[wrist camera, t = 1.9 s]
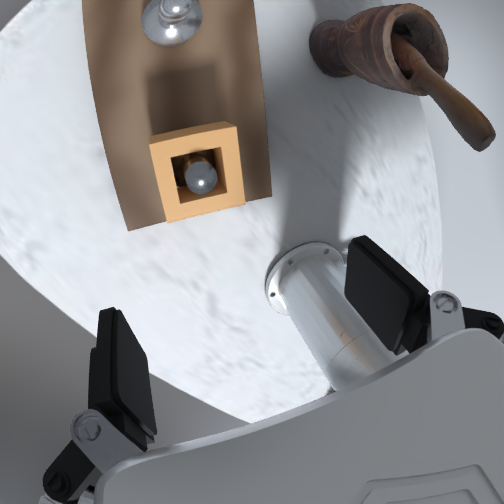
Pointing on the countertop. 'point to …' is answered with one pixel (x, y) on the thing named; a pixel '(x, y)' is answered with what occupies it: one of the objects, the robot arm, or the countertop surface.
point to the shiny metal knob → (195, 171)
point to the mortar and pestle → (399, 61)
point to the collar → (226, 160)
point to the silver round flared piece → (171, 21)
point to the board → (174, 94)
